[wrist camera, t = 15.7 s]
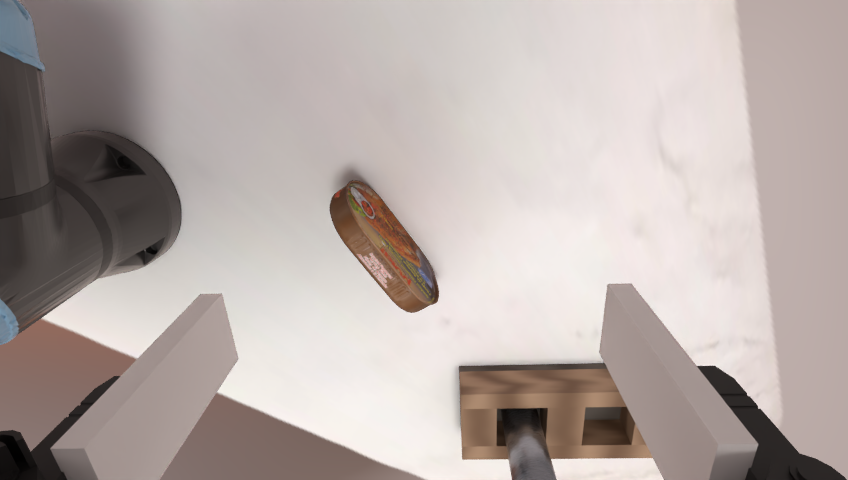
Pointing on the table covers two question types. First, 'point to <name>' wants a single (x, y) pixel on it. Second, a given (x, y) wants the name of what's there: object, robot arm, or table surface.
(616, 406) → the bore block
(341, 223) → the tin
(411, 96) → the table surface
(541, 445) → the pin
